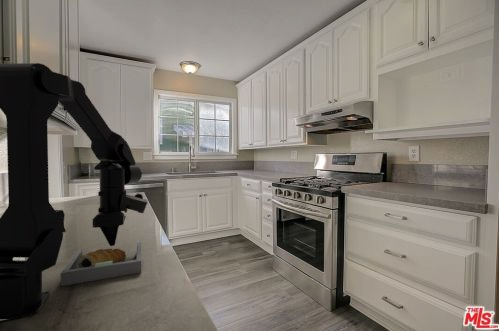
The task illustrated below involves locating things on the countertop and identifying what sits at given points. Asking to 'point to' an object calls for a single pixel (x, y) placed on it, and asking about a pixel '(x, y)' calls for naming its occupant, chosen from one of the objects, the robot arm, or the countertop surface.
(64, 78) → the robot arm
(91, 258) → the pastry
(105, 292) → the countertop surface
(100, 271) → the dock
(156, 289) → the countertop surface
